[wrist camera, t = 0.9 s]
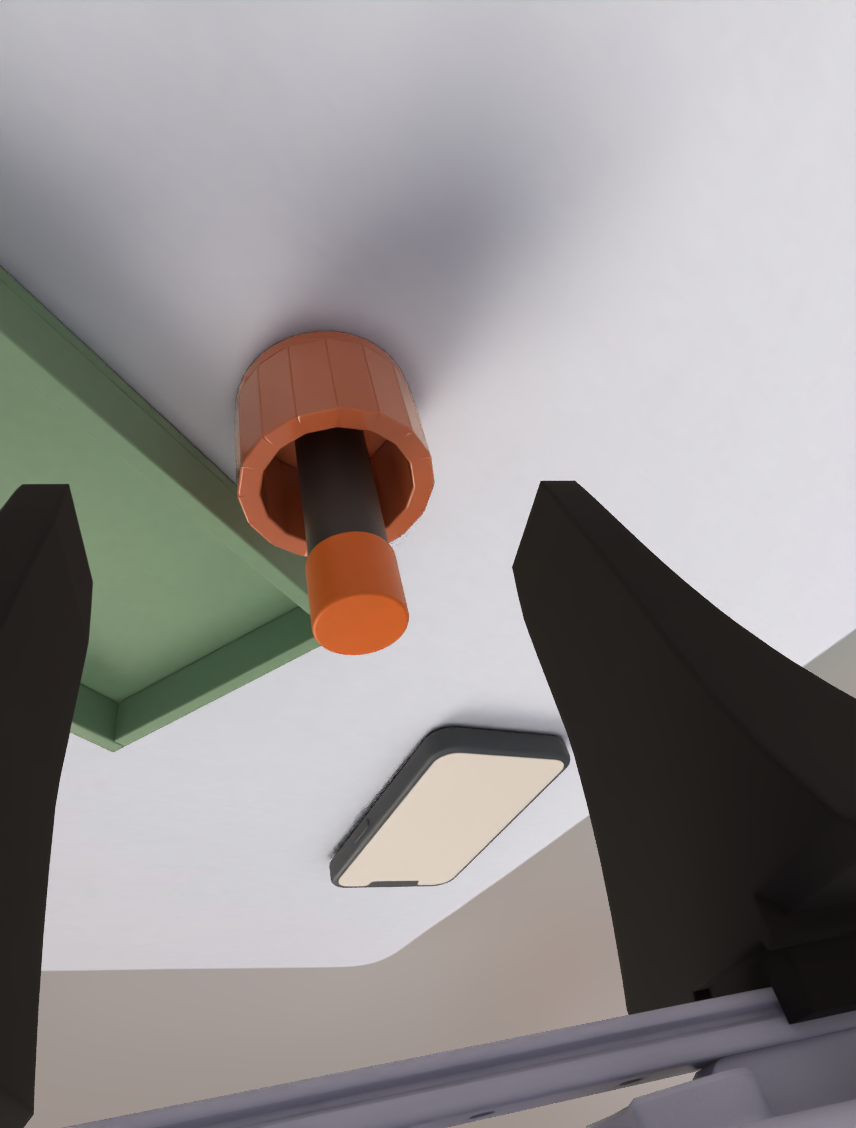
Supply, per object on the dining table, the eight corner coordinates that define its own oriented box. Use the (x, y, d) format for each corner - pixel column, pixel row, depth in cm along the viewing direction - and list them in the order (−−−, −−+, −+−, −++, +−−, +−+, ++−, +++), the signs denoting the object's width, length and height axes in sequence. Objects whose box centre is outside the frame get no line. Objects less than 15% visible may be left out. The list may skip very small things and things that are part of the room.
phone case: (431, 717, 37) (320, 864, 46) (438, 746, 36) (323, 890, 45) (572, 731, 41) (444, 863, 50) (582, 757, 40) (449, 887, 49)
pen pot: (304, 501, 25) (314, 584, 22) (197, 392, 21) (194, 477, 19) (438, 423, 24) (465, 502, 21) (349, 294, 20) (369, 371, 17)
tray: (118, 704, 31) (113, 753, 29) (-547, 355, 17) (-626, 414, 15) (343, 584, 28) (350, 631, 27) (-227, 53, 14) (-281, 87, 13)
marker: (317, 460, 23) (347, 668, 18) (273, 412, 21) (292, 624, 16) (376, 425, 22) (426, 628, 17) (336, 373, 21) (377, 579, 16)
